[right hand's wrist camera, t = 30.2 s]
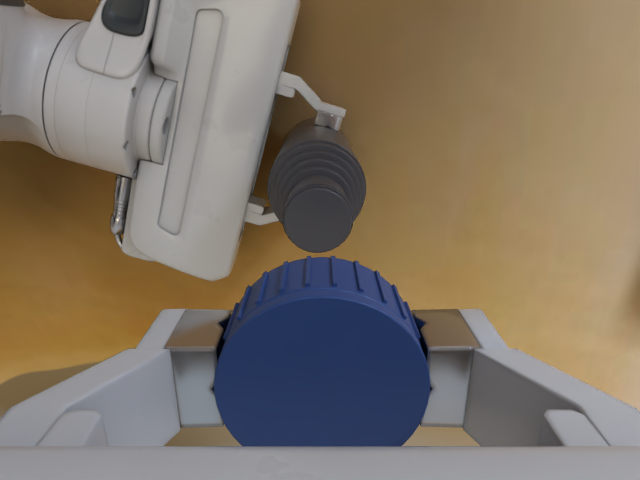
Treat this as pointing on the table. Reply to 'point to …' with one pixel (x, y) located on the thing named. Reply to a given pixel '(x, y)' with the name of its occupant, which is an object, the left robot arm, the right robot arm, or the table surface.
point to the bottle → (316, 187)
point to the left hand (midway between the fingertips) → (328, 166)
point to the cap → (321, 360)
